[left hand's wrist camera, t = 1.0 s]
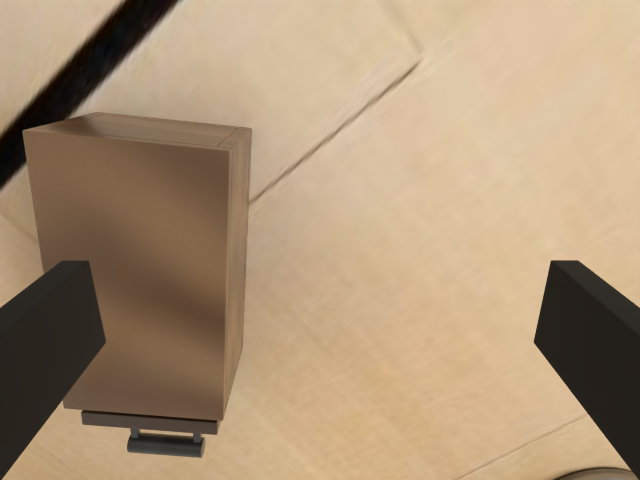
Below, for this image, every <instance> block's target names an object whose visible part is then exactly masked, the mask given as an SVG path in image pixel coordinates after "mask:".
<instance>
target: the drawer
mask: <svg viewBox="0 0 640 480" xmlns="http://www.w3.org/2000/svg"><path fill="white" fill-rule="evenodd" d="M81 416H82V423H83V425H96V426H109V427H122V428H131V435H130V437H129V440H128V444H127V451H128V452H131V453H144V454H157V455H170V456H184V457H197V458H201V457H202V456H203V453H204V448H205V438H204V437H202V434H212V435H217V433H218V429H219V425H220V422H221V421H220V420H207V419H194V418H182V417H169V416H156V415H143V414H131V413H118V412H105V411H93V410H82V412H81ZM140 429H148V430H161V431H174V432H186V433H193V437H192V436H179V435H166V434H154V433H141V432H140Z"/></svg>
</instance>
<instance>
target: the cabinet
mask: <svg viewBox="0 0 640 480" xmlns="http://www.w3.org/2000/svg"><path fill="white" fill-rule="evenodd" d="M251 136H252V129H251V128H243V127H233V126H224V125H214V124H204V123H195V122H185V121H175V120H166V119H156V118H147V117H137V116H127V115H118V114H108V113H98V112H96V113H92V114H88V115H84V116H80V117H76V118H72V119H67V120H63V121H59V122H55V123H51V124H47V125H43V126H39V127H35V128H31V129H26V130H23V138H24V145H25V151H26V158H27V165H28V171H29V178H30V185H31V191H32V198H33V205H34V211H35V218H36V225H37V232H38V238H39V245H40V252H41V258H42V265H43V272H44V274H45V273H46V272H48V271H49V270H50V269H52V268H53V267H54V266H55V265H57V264H58V263H59V262H61V261H89V263H90V268H91V273H92V277H93V282H94V287H95V291H96V296H97V301H98V305H99V310H100V315H101V320H102V324H103V329H104V334H105V338H106V343H105V345H104V346H103V347H102V349H101V350H100V351H99V353H98V354H97V355H96V356H95V358H94V359H93V360H92V362H91V363H90V364H89V366H88V367H87V368H86V370H85V371H84V372H83V374H82V375H81V376H80V377H79V379H78V380H77V381H76V383H75V384H74V385H73V387H72V388H71V389H70V391H69V392H68V393H67V395H66V396H65V397H64V398H63V405H64V408H67V409H80V410H93V411H105V412H118V413H131V414H143V415H156V416H169V417H182V418H194V419H207V420H220V421H222V420H223V418H224V415H225V411H226V407H227V404H228V400H229V396H230V393H231V389H232V385H233V381H234V378H235V374H236V370H237V367H238V363H239V359H240V355H241V352H242V347H243V323H244V300H245V276H246V253H247V230H248V206H249V183H250V159H251Z"/></svg>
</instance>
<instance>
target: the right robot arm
mask: <svg viewBox="0 0 640 480" xmlns="http://www.w3.org/2000/svg"><path fill="white" fill-rule="evenodd" d="M559 480H638V478H637V477H636V476H635V474H634V473H633V472H630V471H626V470H620V469H594V470H587V471H582V472H578V473H575V474H571V475H568V476H566V477H563V478H561V479H559Z"/></svg>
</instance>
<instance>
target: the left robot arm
mask: <svg viewBox="0 0 640 480" xmlns="http://www.w3.org/2000/svg"><path fill="white" fill-rule="evenodd" d="M105 343H106V338H105V334H104V329H103V324H102V320H101V315H100V310H99V305H98V301H97V296H96V291H95V287H94V282H93V277H92V273H91V268H90V263H89V261H61V262H59V263H58V264H57V265H55V266H54V267H53V268H52V269H50V270H49V271H48V272H46V273H45V274H44V275H42V276H41V277H40V278H39V279H37V280H36V281H35V282H33V283H32V284H31V285H29V286H28V287H27V288H26V289H24V290H23V291H22V292H20V293H19V294H18V295H16V296H15V297H14V298H13V299H11V300H10V301H9V302H7V303H6V304H5V305H3V306H2V307H1V308H0V480H2V478H3V477H4V476H5V474H6V473H7V472H8V471H9V469H10V468H11V467H12V465H13V464H14V463H15V461H16V460H17V459H18V457H19V456H20V455H21V453H22V452H23V451H24V450H25V448H26V447H27V446H28V444H29V443H30V442H31V440H32V439H33V438H34V436H35V435H36V434H37V433H38V431H39V430H40V429H41V427H42V426H43V425H44V423H45V422H46V421H47V419H48V418H49V417H50V415H51V414H52V413H53V412H54V410H55V409H56V408H57V406H58V405H59V404H60V402H61V401H62V400H63V398H64V397H65V396H66V395H67V393H68V392H69V391H70V389H71V388H72V387H73V385H74V384H75V383H76V381H77V380H78V379H79V377H80V376H81V375H82V374H83V372H84V371H85V370H86V368H87V367H88V366H89V364H90V363H91V362H92V360H93V359H94V358H95V356H96V355H97V354H98V353H99V351H100V350H101V349H102V347H103V346H104V345H105ZM534 343H535V345H536V346H537V347H538V349H539V350H540V351H541V353H542V354H543V355H544V356H545V358H546V359H547V360H548V362H549V363H550V364H551V366H552V367H553V368H554V370H555V371H556V372H557V374H558V375H559V376H560V377H561V379H562V380H563V381H564V383H565V384H566V385H567V387H568V388H569V389H570V391H571V392H572V393H573V395H574V396H575V397H576V398H577V400H578V401H579V402H580V404H581V405H582V406H583V408H584V409H585V410H586V412H587V413H588V414H589V415H590V417H591V418H592V419H593V421H594V422H595V423H596V425H597V426H598V427H599V429H600V430H601V431H602V433H603V434H604V435H605V436H606V438H607V439H608V440H609V442H610V443H611V444H612V446H613V447H614V448H615V450H616V451H617V452H618V453H619V455H620V456H621V457H622V459H623V460H624V461H625V463H626V464H627V465H628V467H629V468H630V469H631V471H632V472H633V473H634V474H635V476H636V477H637V478H638V480H640V308H639V307H638V306H637V305H635V304H634V303H633V302H631V301H630V300H629V299H627V298H626V297H625V296H624V295H622V294H621V293H620V292H618V291H617V290H616V289H614V288H613V287H612V286H611V285H609V284H608V283H607V282H605V281H604V280H603V279H601V278H600V277H599V276H598V275H596V274H595V273H594V272H592V271H591V270H590V269H588V268H587V267H586V266H585V265H583V264H582V263H581V262H579V261H551V263H550V268H549V272H548V277H547V282H546V287H545V291H544V296H543V301H542V305H541V310H540V315H539V320H538V324H537V329H536V334H535V338H534Z"/></svg>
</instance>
